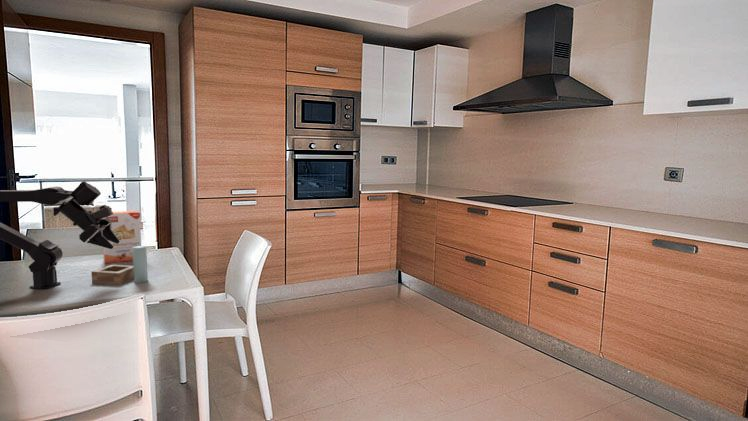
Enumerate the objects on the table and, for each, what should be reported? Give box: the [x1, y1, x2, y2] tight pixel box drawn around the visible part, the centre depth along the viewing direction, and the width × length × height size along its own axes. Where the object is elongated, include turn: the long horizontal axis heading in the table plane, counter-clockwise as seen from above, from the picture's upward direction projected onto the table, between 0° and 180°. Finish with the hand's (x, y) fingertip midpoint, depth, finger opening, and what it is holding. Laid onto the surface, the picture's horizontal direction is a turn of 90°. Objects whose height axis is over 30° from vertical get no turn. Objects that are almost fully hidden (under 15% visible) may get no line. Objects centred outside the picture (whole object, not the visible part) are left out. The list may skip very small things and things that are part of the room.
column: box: [132, 245, 149, 284], centre depth 168 cm, size 4×4×12 cm
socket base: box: [91, 264, 134, 285], centre depth 169 cm, size 10×10×4 cm
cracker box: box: [102, 210, 142, 264], centre depth 196 cm, size 14×6×21 cm, turn 124°
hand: (115, 245), depth 164 cm, fingers open, 9 cm apart
